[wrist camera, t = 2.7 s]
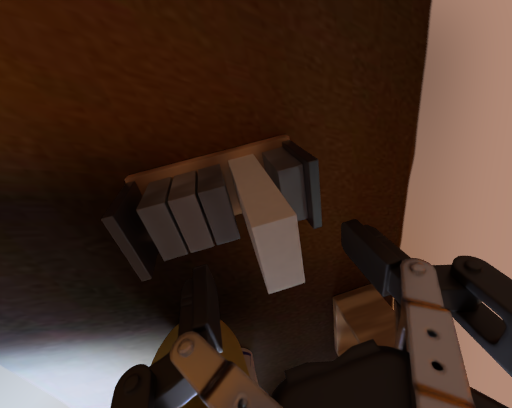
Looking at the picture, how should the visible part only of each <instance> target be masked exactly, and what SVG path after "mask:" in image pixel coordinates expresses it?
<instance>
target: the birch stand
mask: <svg viewBox="0 0 512 408" xmlns="http://www.w3.org/2000/svg"><path fill="white" fill-rule="evenodd" d="M333 316H334V341H335V351H336V353H337V355H338V357H339V356H340V355H341V354H343V353H344V352H345V351H347V350H348V349H349V348H350V347H352V346H354V345H357V344H360V343H362V342H365V341H368V340H371V339H374V341H375V342H376V344H377V345H378V346H389V347H393V348H395V316H394V310H393V309H392V308H391V307H390V305H389V304H388V303H387V302H386V301H385V299H384V298H383V297H382V296H381V295H380V293H379V292H378V291H377V290H376V289H375V287H374V286H373V285H372V284H369V285H366V286H363V287H360V288H357V289H354V290H351V291H348V292H345V293H342V294H339V295H336V296H333Z"/></svg>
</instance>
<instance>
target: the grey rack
mask: <svg viewBox="0 0 512 408" xmlns="http://www.w3.org/2000/svg"><path fill="white" fill-rule="evenodd" d="M250 154H253V155H254V156H255V157H256V159H257V160H258V162H259V163H260V164H261V166H262V167H263V169H264V170H265V171H266V173H267V174H268V176H269V177H270V178H271V180H272V181H273V183H274V184H275V185H276V187H277V188H278V190H279V191H280V192H281V194H282V195H283V197H284V198H285V199H286V201H287V202H288V204H289V205H290V206H291V208H292V209H293V211H294V212H295V213H296V215H297V221H300V220H304V219H307V221H308V222H309V223H310V225H311V226H312V227H313V229H316V228H319V227H322V214H321V198H320V181H319V165H318V159H317V158H315V157H314V156H312V155H311V154H310V153H308V152H307V151H305V150H304V149H302V148H301V147H299V146H298V145H296V144H295V143H293V142H292V141H290V140H289V136H288V135H286V134H284V135H280V136H277V137H273V138H269V139H265V140H261V141H257V142H254V143H250V144H246V145H242V146H238V147H235V148H231V149H227V150H223V151H219V152H215V153H212V154H208V155H204V156H200V157H196V158H193V159H189V160H185V161H181V162H177V163H173V164H170V165H166V166H162V167H158V168H154V169H151V170H147V171H143V172H139V173H135V174H131V175H128V176H127V177H126V178H125V179H124V180H125V182H126V184H125V185H124V187H123V188H122V189H121V191H120V192H119V194H118V195H117V197H116V198H115V199H114V201H113V202H112V204H111V205H110V207H109V208H108V210H107V211H106V212H105V214H104V215H103V217H102V218H101V220H102V222H103V223H104V225H105V226H106V228H107V229H108V231H109V232H110V234H111V235H112V237H113V238H114V240H115V241H116V243H117V244H118V246H119V247H120V249H121V250H122V252H123V253H124V255H125V256H126V258H127V260H128V261H129V263H130V264H131V266H132V267H133V269H134V270H135V272H136V273H137V275H138V276H139V278H140V279H141V281H145V280H148V279H151V278H152V275H153V271H154V267H155V262H156V258H157V254H158V251H159V253H160V254H161V256H162V258H163V260H164V261H166V260H169V259H173V258H176V257H180V256H183V255H186V254H188V248H189V250H190V252H191V253H193V252H196V251H199V250H203V249H206V248H210V247H213V246H214V238H215V241H216V244H217V245H220V244H223V243H227V242H230V241H233V240H237V239H240V235H239V231H238V227H237V223H236V219H235V215H238V214H241V213H242V210H241V207H240V203H239V200H238V196H237V192H236V189H235V185H234V181H233V178H232V174H231V171H230V167H229V163H228V160H231V159H235V158H239V157H242V156H246V155H250Z"/></svg>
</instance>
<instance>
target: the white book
mask: <svg viewBox="0 0 512 408" xmlns="http://www.w3.org/2000/svg"><path fill="white" fill-rule="evenodd" d="M228 163H229V167H230V171H231V174H232V178H233V181H234V185H235V189H236V192H237V196H238V200H239V203H240V207H241V210H242V213H243V216H244V220H245V223H246V226H247V229H248V232H249V235H250V238H251V241H252V244H253V247H254V251H255V254H256V257H257V260H258V263H259V266H260V269H261V272H262V275H263V278H264V282H265V285H266V288H267V291H268V294H271V293H274V292H277V291H281V290H284V289H287V288H290V287H293V286H296V285H299V284H302V283H305V277H304V269H303V261H302V253H301V246H300V238H299V230H298V223H297V215H296V213H295V212H294V211H293V209H292V208H291V206H290V205H289V204H288V202H287V201H286V199H285V198H284V197H283V195H282V194H281V192H280V191H279V190H278V188H277V187H276V185H275V184H274V183H273V181H272V180H271V178H270V177H269V176H268V174H267V173H266V171H265V170H264V169H263V167H262V166H261V164H260V163H259V162H258V160H257V159H256V157H255V156H254V155H253V154H250V155H246V156H242V157H239V158H235V159H231V160H228Z"/></svg>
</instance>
